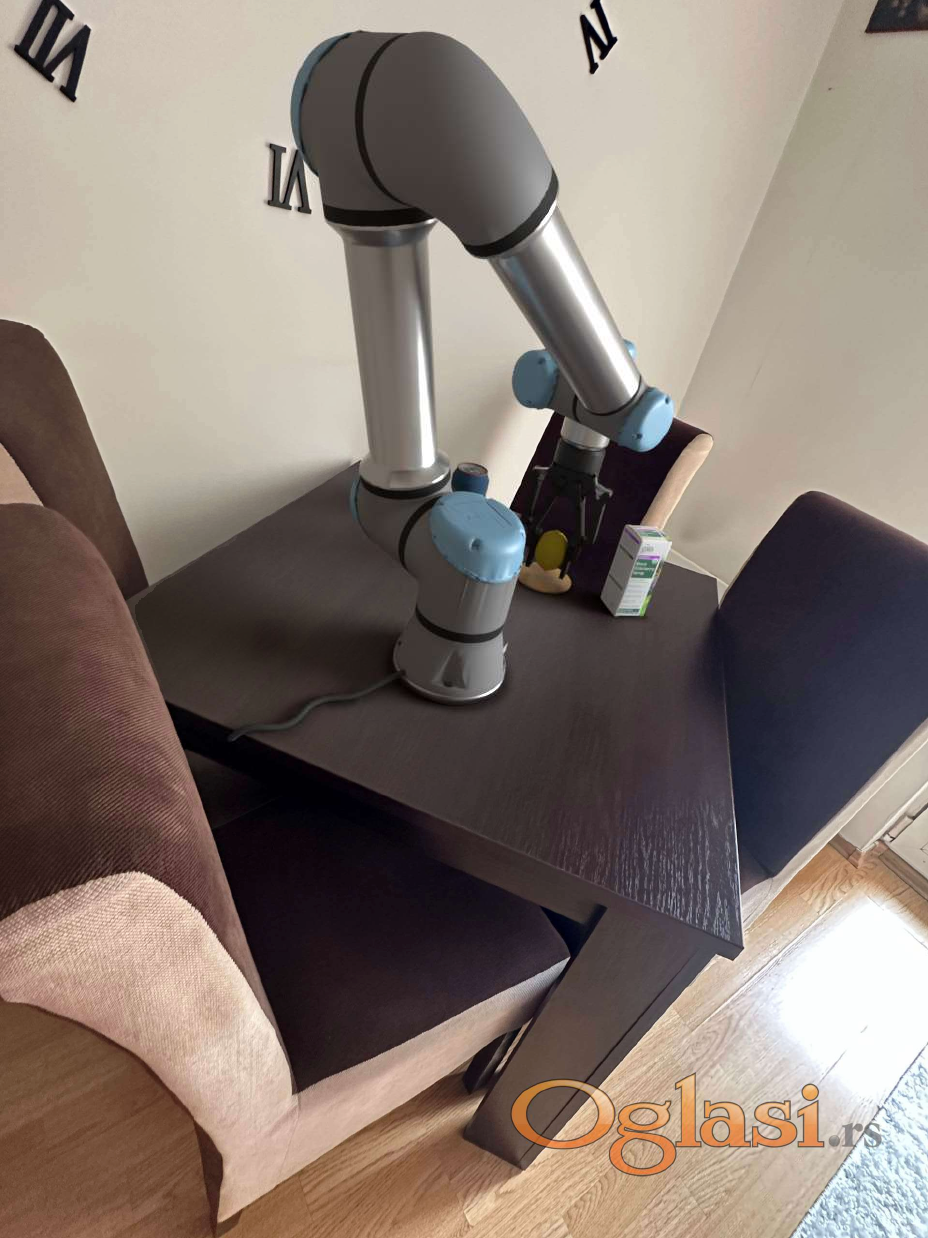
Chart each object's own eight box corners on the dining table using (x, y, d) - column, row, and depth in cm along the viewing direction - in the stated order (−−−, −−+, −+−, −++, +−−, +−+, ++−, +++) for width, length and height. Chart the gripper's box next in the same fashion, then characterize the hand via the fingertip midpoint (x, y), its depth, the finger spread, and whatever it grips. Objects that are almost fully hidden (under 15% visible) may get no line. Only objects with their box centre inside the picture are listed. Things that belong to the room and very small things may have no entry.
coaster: (545, 599, 109) (545, 597, 109) (503, 570, 114) (504, 568, 114) (581, 585, 115) (582, 583, 115) (541, 559, 121) (541, 557, 120)
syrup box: (613, 617, 108) (643, 540, 100) (598, 597, 113) (625, 522, 105) (643, 617, 110) (674, 541, 102) (627, 597, 115) (655, 524, 107)
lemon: (560, 566, 116) (572, 526, 112) (561, 582, 112) (574, 541, 107) (530, 560, 116) (541, 520, 112) (529, 575, 112) (541, 534, 107)
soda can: (439, 517, 127) (449, 459, 120) (472, 519, 129) (484, 462, 123) (448, 535, 122) (460, 474, 115) (483, 535, 124) (496, 477, 118)
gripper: (644, 453, 102) (600, 579, 115) (534, 419, 106) (504, 544, 119) (636, 466, 96) (591, 597, 109) (520, 430, 100) (489, 560, 113)
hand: (545, 569), depth 114 cm, fingers closed on lemon, 6 cm apart
